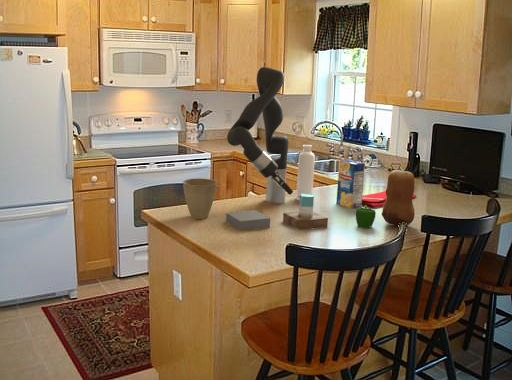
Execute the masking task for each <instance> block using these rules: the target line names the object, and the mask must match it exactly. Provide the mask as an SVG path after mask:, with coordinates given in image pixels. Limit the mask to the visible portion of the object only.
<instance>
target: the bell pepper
mask: <svg viewBox="0 0 512 380" xmlns="http://www.w3.org/2000/svg"><path fill="white" fill-rule="evenodd" d="M376 213H377V212H376V210H375V209H372V208H368V207H367V205H365V206H361V207H358V208H356V211H355V221H356V224H357V226H358V227H360V228H363V229H368V228H370V227H372V226H373V224H374V222H375V218H376Z"/></svg>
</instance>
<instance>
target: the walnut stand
mask: <svg viewBox="0 0 512 380" xmlns="http://www.w3.org/2000/svg"><path fill="white" fill-rule="evenodd" d="M282 216H283V217H282V222H283V223H286V225H287V224H288V225H289V226H291V227H293V228H295V229H297V230H299V231H303V230H313V229H312V228H314V229H322V228H321V227H323V228H328V225H329V223H328V222H329V218H328V217H327V216H324V215H322V214H320V213H318V212H315V211H313V216H312V217H301V216H300V215H299V210H298V211H289V212H288V211H287V212H283V215H282Z"/></svg>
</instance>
